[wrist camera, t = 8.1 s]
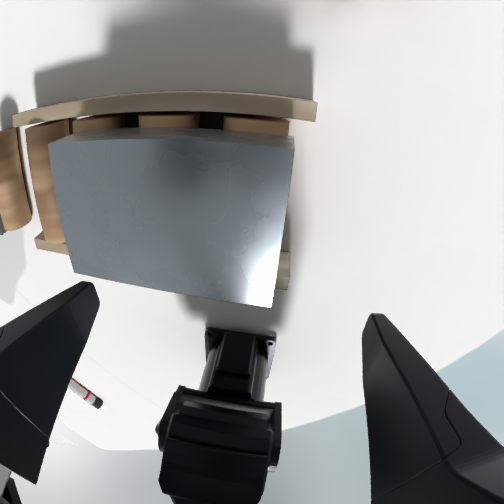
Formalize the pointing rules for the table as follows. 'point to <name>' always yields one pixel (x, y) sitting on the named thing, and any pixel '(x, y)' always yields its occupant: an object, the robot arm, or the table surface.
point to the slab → (175, 208)
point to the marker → (85, 394)
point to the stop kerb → (1, 226)
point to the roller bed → (172, 116)
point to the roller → (12, 183)
